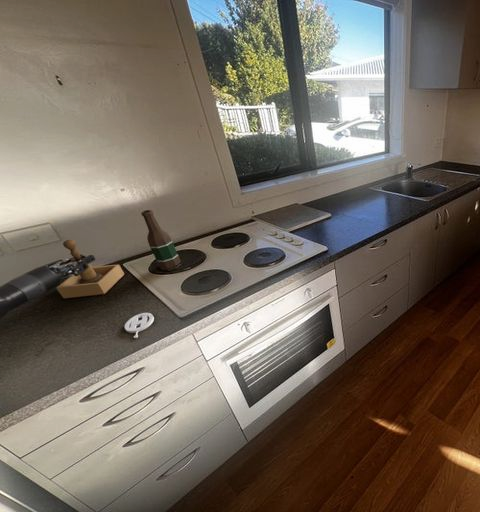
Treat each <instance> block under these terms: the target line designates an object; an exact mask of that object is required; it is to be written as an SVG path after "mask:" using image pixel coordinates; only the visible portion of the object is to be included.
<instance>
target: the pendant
mask: <svg viewBox="0 0 480 512" xmlns="http://www.w3.org/2000/svg"><path fill="white" fill-rule="evenodd" d="M154 320H155V317H154V315H153V314H152V313H151V312H142V313H138V314H136V315H134V316H132V317H131V318H129V319H128V320H127V321H126V322H125V324H124V330H125V331H126V332H127V333H130V334H135V335H134V336H133V337H132V338H133V339H137V338H139V335H138V334H139V332H142V331H144V330H146V329H148V328H149V327H150V326H151V325H152V324H153V323H154Z"/></svg>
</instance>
